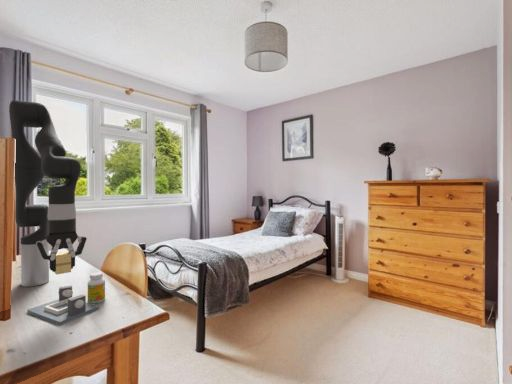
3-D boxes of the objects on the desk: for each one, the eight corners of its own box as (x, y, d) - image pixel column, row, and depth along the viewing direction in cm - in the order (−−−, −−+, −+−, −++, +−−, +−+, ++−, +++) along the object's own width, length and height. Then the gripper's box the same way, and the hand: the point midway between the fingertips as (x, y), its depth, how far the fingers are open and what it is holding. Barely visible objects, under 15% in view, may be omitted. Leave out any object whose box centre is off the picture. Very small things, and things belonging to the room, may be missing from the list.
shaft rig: (27, 312, 89) (27, 295, 89) (66, 299, 100) (66, 283, 100) (59, 325, 81) (59, 305, 81) (98, 309, 92) (98, 291, 92)
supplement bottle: (85, 304, 95) (85, 276, 95) (90, 298, 101) (90, 272, 100) (102, 302, 97) (102, 275, 97) (106, 296, 102) (106, 270, 102)
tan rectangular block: (56, 274, 87) (55, 255, 87) (53, 271, 90) (53, 253, 90) (71, 272, 90) (71, 253, 90) (68, 269, 93) (68, 251, 93)
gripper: (35, 220, 82) (36, 277, 82) (89, 216, 92) (90, 267, 92) (32, 218, 87) (33, 271, 88) (84, 215, 97) (84, 263, 98)
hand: (62, 269), depth 90 cm, fingers closed on tan rectangular block, 4 cm apart
